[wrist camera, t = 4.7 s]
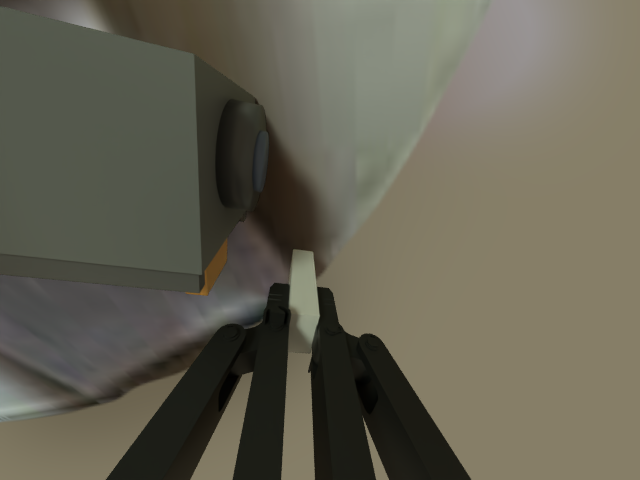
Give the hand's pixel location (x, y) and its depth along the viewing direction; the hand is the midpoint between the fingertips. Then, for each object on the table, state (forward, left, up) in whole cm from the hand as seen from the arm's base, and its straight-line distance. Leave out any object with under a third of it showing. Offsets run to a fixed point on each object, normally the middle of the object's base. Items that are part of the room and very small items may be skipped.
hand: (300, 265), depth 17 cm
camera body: (-10, +7, -2) cm, 12 cm away
